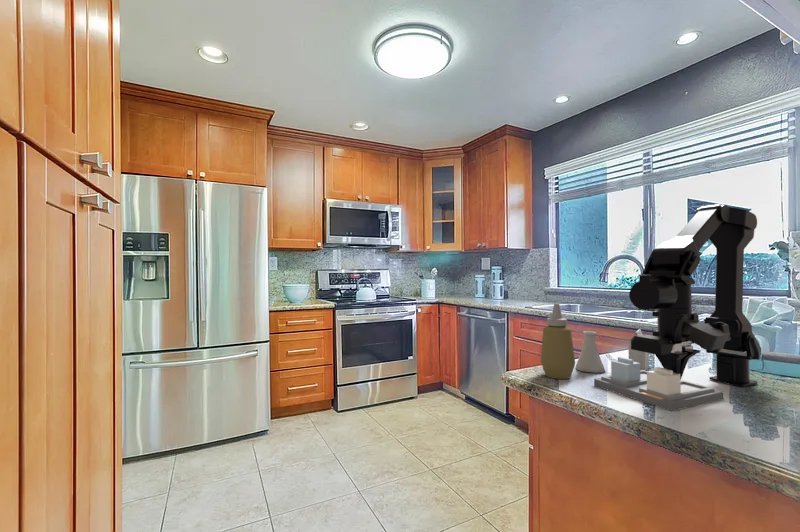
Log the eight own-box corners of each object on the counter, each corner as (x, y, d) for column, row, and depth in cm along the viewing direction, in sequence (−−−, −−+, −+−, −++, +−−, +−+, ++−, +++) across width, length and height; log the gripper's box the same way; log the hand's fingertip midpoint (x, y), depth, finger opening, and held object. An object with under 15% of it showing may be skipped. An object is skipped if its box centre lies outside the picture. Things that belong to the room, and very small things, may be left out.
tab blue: (623, 376, 87) (623, 355, 87) (640, 381, 83) (640, 359, 84) (611, 378, 86) (611, 357, 86) (627, 383, 82) (627, 361, 82)
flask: (598, 366, 103) (598, 329, 103) (610, 374, 95) (610, 334, 96) (571, 366, 103) (570, 329, 103) (581, 373, 96) (580, 334, 96)
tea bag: (648, 366, 102) (648, 329, 102) (645, 372, 97) (644, 333, 97) (632, 364, 104) (632, 328, 104) (628, 369, 99) (628, 331, 99)
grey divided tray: (642, 377, 92) (642, 368, 92) (723, 399, 77) (723, 388, 77) (594, 385, 86) (594, 376, 86) (671, 411, 71) (671, 399, 71)
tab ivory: (660, 388, 78) (659, 365, 78) (680, 394, 75) (680, 370, 75) (647, 391, 77) (646, 367, 77) (667, 397, 73) (666, 372, 73)
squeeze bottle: (533, 375, 95) (532, 303, 95) (552, 370, 100) (551, 301, 100) (564, 383, 88) (563, 306, 89) (582, 376, 93) (580, 304, 93)
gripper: (686, 314, 66) (688, 403, 66) (749, 308, 73) (750, 389, 73) (627, 308, 77) (629, 385, 77) (687, 303, 84) (688, 374, 83)
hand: (675, 383), depth 77 cm, fingers closed
